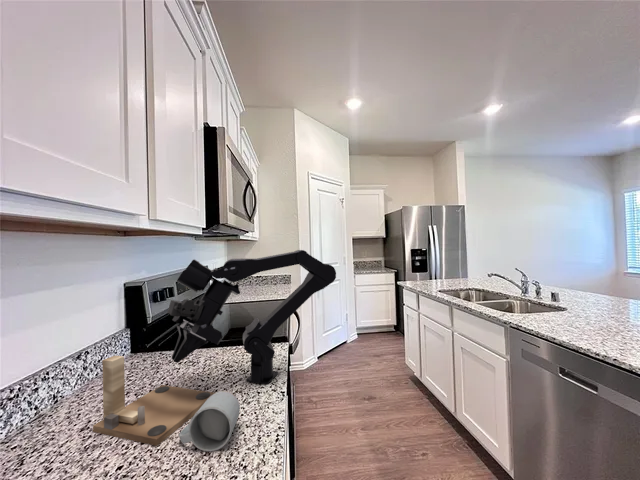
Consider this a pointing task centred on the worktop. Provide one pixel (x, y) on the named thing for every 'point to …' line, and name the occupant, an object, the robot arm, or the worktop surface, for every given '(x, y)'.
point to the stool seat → (156, 415)
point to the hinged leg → (115, 390)
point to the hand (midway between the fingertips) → (174, 360)
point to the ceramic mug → (212, 422)
